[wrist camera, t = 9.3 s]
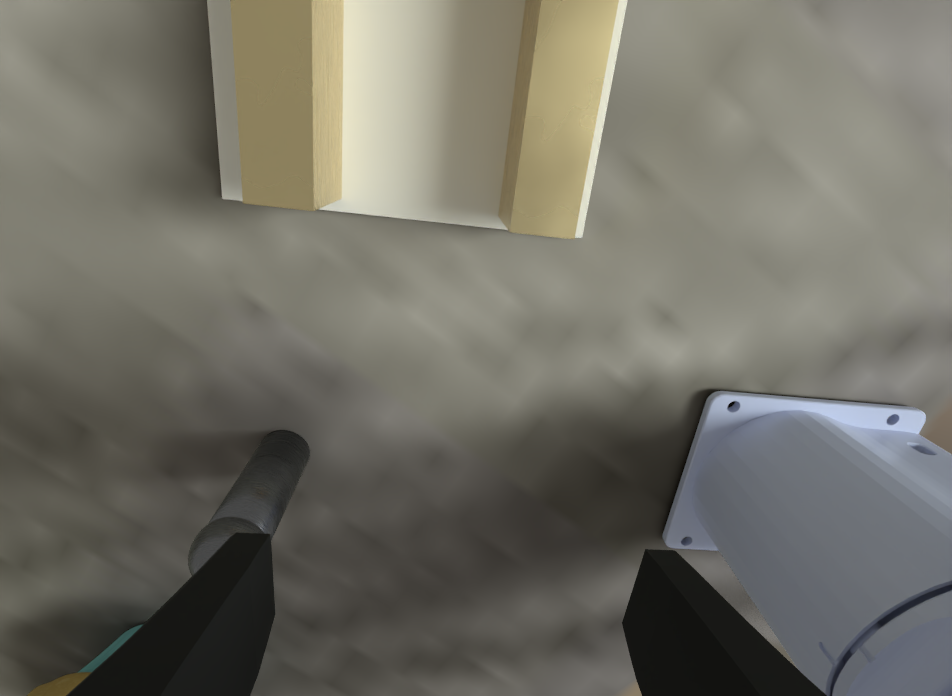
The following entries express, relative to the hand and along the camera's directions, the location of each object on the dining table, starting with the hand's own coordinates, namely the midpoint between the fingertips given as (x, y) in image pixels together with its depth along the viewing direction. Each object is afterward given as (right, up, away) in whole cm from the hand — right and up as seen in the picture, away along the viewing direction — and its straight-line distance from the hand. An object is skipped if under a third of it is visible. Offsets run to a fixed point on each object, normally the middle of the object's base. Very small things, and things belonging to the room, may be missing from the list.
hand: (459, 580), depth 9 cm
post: (-8, 0, +11) cm, 13 cm away
